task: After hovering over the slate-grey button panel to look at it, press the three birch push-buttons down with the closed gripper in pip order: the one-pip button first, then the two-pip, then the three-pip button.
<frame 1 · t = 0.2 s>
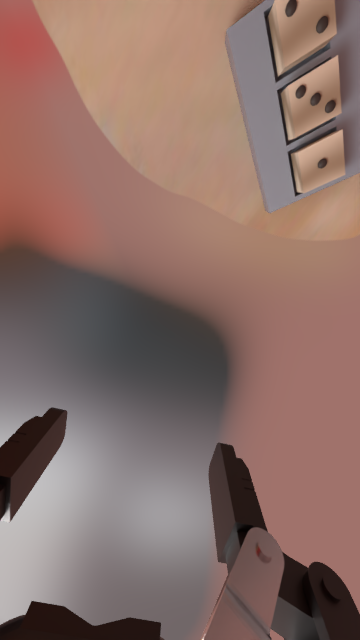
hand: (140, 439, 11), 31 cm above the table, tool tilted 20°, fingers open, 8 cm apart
button 3: (310, 102, 23), point 4 cm above the table, slide at 0.0 cm
button 2: (301, 24, 20), point 4 cm above the table, slide at 0.0 cm
button 1: (317, 163, 25), point 4 cm above the table, slide at 0.0 cm
panel: (298, 110, 26), on the table
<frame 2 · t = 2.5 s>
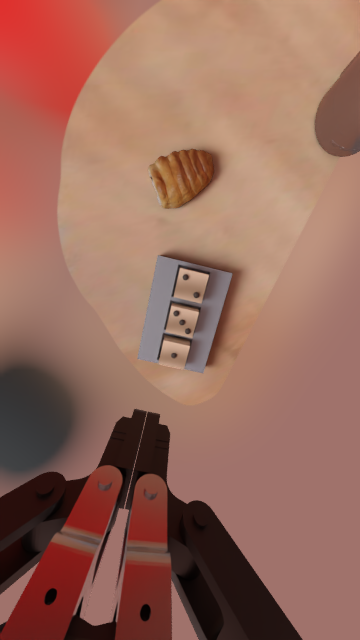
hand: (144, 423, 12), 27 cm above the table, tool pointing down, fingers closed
button 3: (182, 320, 35), point 4 cm above the table, slide at 0.0 cm
button 2: (190, 285, 33), point 4 cm above the table, slide at 0.0 cm
button 1: (174, 352, 37), point 4 cm above the table, slide at 0.0 cm
panel: (182, 314, 38), on the table
pastry: (178, 181, 33), on the table
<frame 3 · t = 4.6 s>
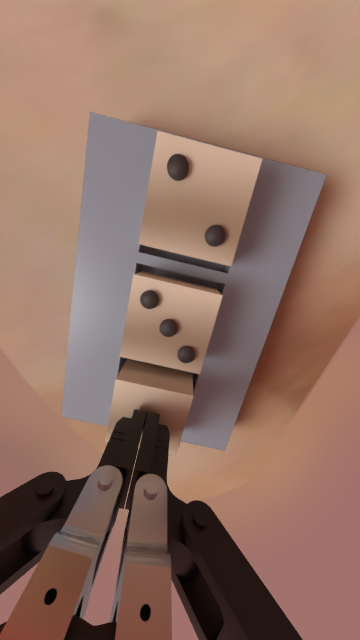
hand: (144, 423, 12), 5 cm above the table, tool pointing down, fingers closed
button 3: (170, 321, 12), point 4 cm above the table, slide at 0.0 cm
button 2: (195, 209, 10), point 4 cm above the table, slide at 0.0 cm
button 1: (150, 406, 14), point 4 cm above the table, slide at 0.0 cm, touching gripper
panel: (173, 307, 15), on the table
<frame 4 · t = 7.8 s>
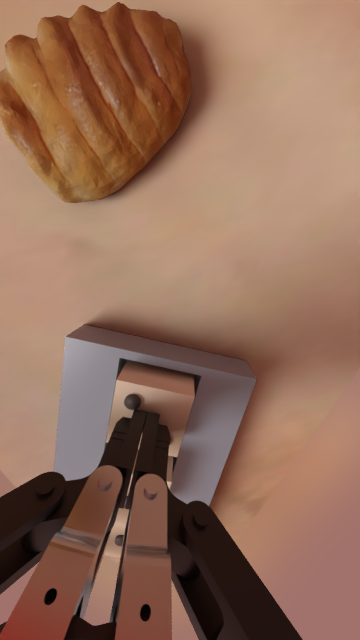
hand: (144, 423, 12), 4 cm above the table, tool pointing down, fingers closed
button 3: (134, 482, 15), point 4 cm above the table, slide at 0.0 cm
button 2: (151, 407, 14), point 3 cm above the table, slide at 0.5 cm, touching gripper
button 1: (125, 521, 17), point 2 cm above the table, slide at 1.1 cm
panel: (144, 440, 18), on the table
pastry: (101, 129, 13), on the table
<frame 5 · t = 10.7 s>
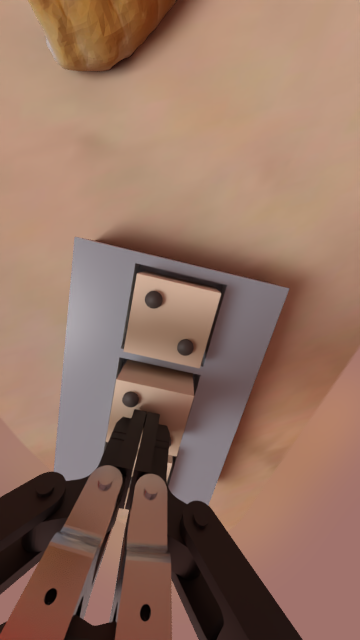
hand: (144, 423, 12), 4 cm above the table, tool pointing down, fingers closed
button 3: (151, 406, 14), point 3 cm above the table, slide at 0.5 cm, touching gripper
button 2: (171, 318, 13), point 2 cm above the table, slide at 1.1 cm
button 1: (137, 465, 16), point 2 cm above the table, slide at 1.1 cm
panel: (157, 380, 17), on the table
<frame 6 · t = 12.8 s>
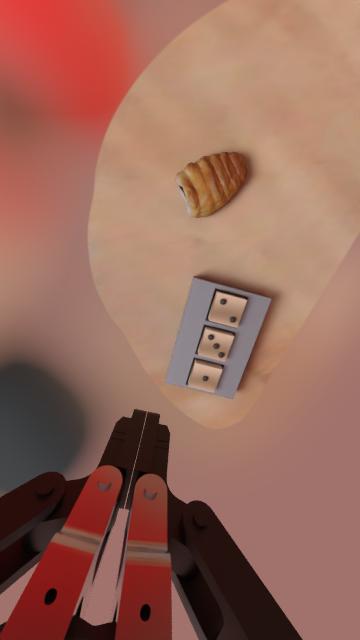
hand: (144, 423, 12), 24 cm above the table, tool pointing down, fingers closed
button 3: (215, 343, 34), point 2 cm above the table, slide at 1.1 cm
button 2: (226, 308, 33), point 2 cm above the table, slide at 1.1 cm
button 1: (204, 374, 36), point 2 cm above the table, slide at 1.1 cm
panel: (213, 337, 37), on the table
pastry: (207, 187, 31), on the table
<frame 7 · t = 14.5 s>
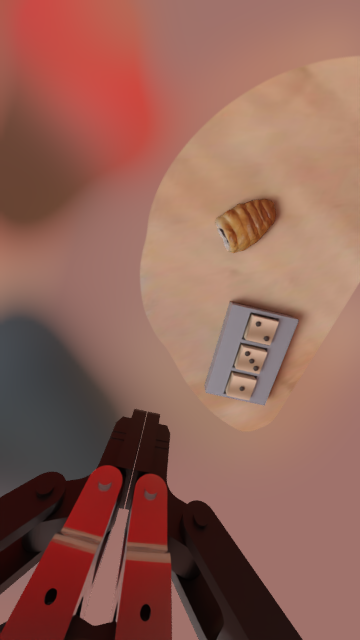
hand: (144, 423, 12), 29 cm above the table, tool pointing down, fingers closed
button 3: (249, 358, 40), point 2 cm above the table, slide at 1.1 cm
button 2: (259, 329, 38), point 2 cm above the table, slide at 1.1 cm
button 1: (240, 384, 41), point 2 cm above the table, slide at 1.1 cm
panel: (246, 352, 42), on the table
pastry: (240, 226, 37), on the table
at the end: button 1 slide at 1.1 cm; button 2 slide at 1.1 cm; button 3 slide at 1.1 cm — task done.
